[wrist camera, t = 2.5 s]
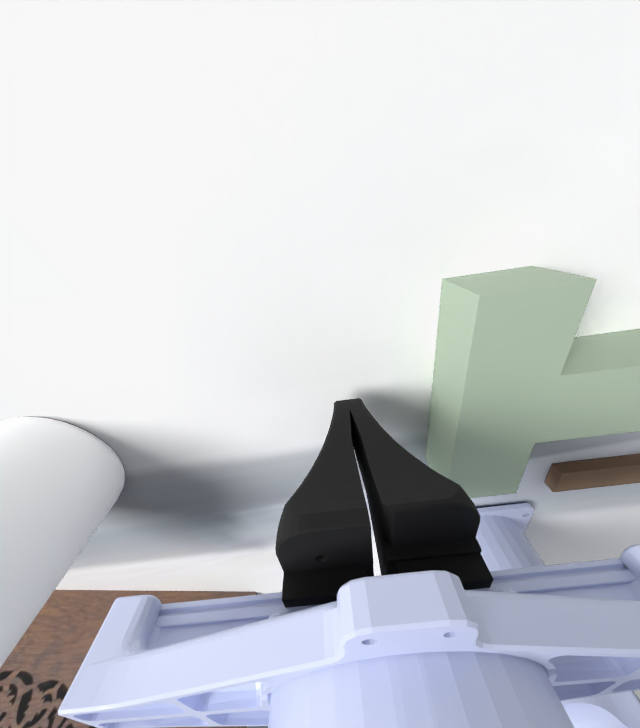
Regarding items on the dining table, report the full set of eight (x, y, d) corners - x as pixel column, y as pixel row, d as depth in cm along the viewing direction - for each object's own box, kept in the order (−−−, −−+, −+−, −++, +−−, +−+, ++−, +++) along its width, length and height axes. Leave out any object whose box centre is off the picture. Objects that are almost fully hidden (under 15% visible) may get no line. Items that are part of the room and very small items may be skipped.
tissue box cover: (256, 588, 27) (229, 767, 18) (257, 638, 34) (239, 785, 25) (-16, 586, 25) (-196, 786, 16) (45, 639, 32) (-57, 800, 23)
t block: (591, 439, 17) (643, 479, 14) (425, 459, 18) (445, 500, 15) (695, 242, 11) (812, 248, 9) (442, 278, 12) (479, 295, 9)
